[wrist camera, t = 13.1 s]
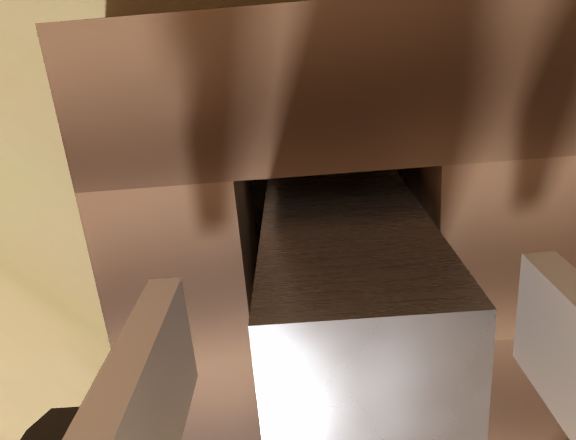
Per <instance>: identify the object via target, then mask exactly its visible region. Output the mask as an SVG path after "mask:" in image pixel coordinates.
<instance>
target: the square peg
mask: <svg viewBox="0 0 576 440" xmlns="http://www.w3.org/2000/svg"><path fill="white" fill-rule="evenodd" d="M496 314H497V309H496V308H495V306H494V305H493V304H492V302H491V301H490V299H489V298H488V297H487V295H486V294H485V293H484V291H483V290H482V288H481V287H480V286H479V284H478V283H477V281H476V280H475V279H474V277H473V276H472V275H471V273H470V272H469V270H468V269H467V268H466V266H465V265H464V264H463V262H462V261H461V259H460V258H459V257H458V255H457V254H456V253H455V251H454V250H453V248H452V247H451V246H450V244H449V243H448V241H447V240H446V239H445V237H444V236H443V235H442V233H441V232H440V230H439V229H438V228H437V226H436V225H435V224H434V222H433V221H432V219H431V218H430V217H429V215H428V214H427V213H426V211H425V210H424V208H423V207H422V206H421V204H420V203H419V201H418V200H417V199H416V197H415V196H414V195H413V193H412V192H411V190H410V189H409V188H408V186H407V185H406V184H405V182H404V181H403V179H402V178H401V177H400V175H399V174H398V173H397V171H396V170H395V169H392V170H378V171H365V172H352V173H338V174H325V175H312V176H298V177H285V178H272V179H268V181H267V188H266V196H265V203H264V210H263V218H262V225H261V233H260V240H259V248H258V255H257V263H256V270H255V278H254V285H253V293H252V300H251V308H250V315H249V323H248V330H249V338H250V347H251V355H252V363H253V371H254V379H255V388H256V396H257V404H258V412H259V420H260V429H261V437H262V440H487V438H488V424H489V411H490V397H491V383H492V369H493V355H494V342H495V328H496Z"/></svg>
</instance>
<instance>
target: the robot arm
mask: <svg viewBox="0 0 576 440" xmlns="http://www.w3.org/2000/svg"><path fill="white" fill-rule="evenodd" d="M513 357H514V358H515V360H516V361H517V363H518V364H519V365H520V367H521V368H522V370H523V371H524V373H525V374H526V376H527V377H528V379H529V380H530V382H531V383H532V385H533V386H534V388H535V389H536V391H537V392H538V394H539V395H540V397H541V398H542V400H543V401H544V403H545V404H546V406H547V407H548V408H549V410H550V411H551V413H552V414H553V416H554V417H555V419H556V420H557V422H558V423H559V425H560V426H561V428H562V429H563V431H564V432H565V434H566V435H567V437H568V438H569V440H576V268H575V267H574V266H573V265H571V264H570V263H569V262H568V261H567V260H566V259H564V258H563V257H562V256H561V255H560V254H558V253H557V252H556V251H551V252H537V253H523V254H522V256H521V268H520V279H519V290H518V302H517V313H516V324H515V336H514V347H513ZM197 378H198V373H197V367H196V361H195V355H194V349H193V343H192V337H191V331H190V325H189V319H188V313H187V307H186V301H185V295H184V289H183V283H182V277H179V278H165V279H150V280H148V282H147V284H146V286H145V288H144V289H143V291H142V293H141V295H140V297H139V299H138V300H137V302H136V304H135V306H134V308H133V310H132V312H131V313H130V315H129V317H128V319H127V321H126V323H125V324H124V326H123V328H122V330H121V332H120V334H119V335H118V337H117V339H116V341H115V343H114V345H113V347H112V348H111V350H110V352H109V354H108V356H107V358H106V359H105V361H104V363H103V365H102V367H101V369H100V370H99V372H98V374H97V376H96V378H95V380H94V382H93V383H92V385H91V387H90V389H89V391H88V393H87V394H86V396H85V398H84V400H83V402H82V404H81V405H80V407H68V408H52V409H50V410H49V411H48V412H47V413H46V414H45V415H43V416H42V417H41V418H40V419H39V420H38V421H37V422H35V423H34V424H33V425H32V426H31V427H30V428H29V429H27V430H26V432H25V433H24V435H23V436H22V438H21V440H182V436H183V432H184V429H185V425H186V421H187V417H188V413H189V409H190V405H191V401H192V397H193V393H194V389H195V386H196V382H197Z"/></svg>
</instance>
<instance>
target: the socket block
mask: <svg viewBox="0 0 576 440" xmlns="http://www.w3.org/2000/svg"><path fill="white" fill-rule="evenodd" d="M35 25H36V29H37V33H38V37H39V42H40V46H41V50H42V55H43V59H44V63H45V68H46V72H47V76H48V80H49V85H50V89H51V93H52V98H53V102H54V106H55V110H56V115H57V119H58V123H59V128H60V132H61V136H62V141H63V145H64V149H65V153H66V158H67V162H68V166H69V171H70V175H71V179H72V183H73V188H74V192H75V196H76V201H77V205H78V209H79V214H80V218H81V222H82V226H83V231H84V235H85V239H86V244H87V248H88V252H89V256H90V261H91V265H92V269H93V274H94V278H95V282H96V287H97V291H98V295H99V299H100V304H101V308H102V312H103V317H104V321H105V325H106V329H107V334H108V338H109V342H110V347H111V348H112V347H113V345H114V343H115V341H116V339H117V337H118V335H119V334H120V332H121V330H122V328H123V326H124V324H125V323H126V321H127V319H128V317H129V315H130V313H131V312H132V310H133V308H134V306H135V304H136V302H137V300H138V299H139V297H140V295H141V293H142V291H143V289H144V288H145V286H146V284H147V282H148V280H150V279H165V278H179V277H182V283H183V289H184V295H185V301H186V307H187V313H188V319H189V325H190V331H191V337H192V343H193V349H194V355H195V361H196V367H197V373H198V378H197V382H196V386H195V389H194V393H193V397H192V401H191V405H190V409H189V413H188V417H187V421H186V425H185V429H184V432H183V436H182V440H262V437H261V429H260V420H259V412H258V404H257V396H256V388H255V379H254V371H253V363H252V355H251V347H250V338H249V330H248V323H249V315H250V308H251V300H252V293H253V285H254V278H255V270H256V263H257V255H258V239H257V230H256V220H255V211H254V202H253V192H252V183H251V180H258V179H272V178H285V177H298V176H312V175H325V174H338V173H352V172H365V171H378V170H392V169H403V181H404V182H405V184H406V185H407V186H408V188H409V189H410V190H411V192H412V193H413V195H414V196H415V197H416V199H417V200H418V201H419V203H420V204H421V206H422V207H423V208H424V210H425V211H426V213H427V214H428V215H429V217H430V218H431V219H432V221H433V222H434V224H435V225H436V226H437V228H438V229H439V230H440V232H441V233H442V235H443V236H444V237H445V239H446V240H447V241H448V243H449V244H450V246H451V247H452V248H453V250H454V251H455V253H456V254H457V255H458V257H459V258H460V259H461V261H462V262H463V264H464V265H465V266H466V268H467V269H468V270H469V272H470V273H471V275H472V276H473V277H474V279H475V280H476V281H477V283H478V284H479V286H480V287H481V288H482V290H483V291H484V293H485V294H486V295H487V297H488V298H489V299H490V301H491V302H492V304H493V305H494V306H495V308H496V309H497V314H496V328H495V342H494V355H493V369H492V383H491V397H490V411H489V424H488V438H487V440H567V435H566V434H565V432H564V431H563V429H562V428H561V426H560V425H559V423H558V422H557V420H556V419H555V417H554V416H553V414H552V413H551V411H550V410H549V408H548V407H547V406H546V404H545V403H544V401H543V400H542V398H541V397H540V395H539V394H538V392H537V391H536V389H535V388H534V386H533V385H532V383H531V382H530V380H529V379H528V377H527V376H526V374H525V373H524V371H523V370H522V368H521V367H520V365H519V364H518V363H517V361H516V360H515V358H514V357H513V347H514V336H515V324H516V313H517V302H518V290H519V279H520V268H521V256H522V254H523V253H537V252H551V251H556V252H557V253H558V254H560V255H561V256H562V257H563V258H564V259H566V260H567V261H568V262H569V263H570V264H571V265H573V266H574V267H575V268H576V0H309V1H297V2H285V3H273V4H261V5H250V6H238V7H226V8H214V9H202V10H190V11H178V12H166V13H155V14H143V15H131V16H119V17H107V18H95V19H83V20H71V21H60V22H48V23H36V24H35Z"/></svg>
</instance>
